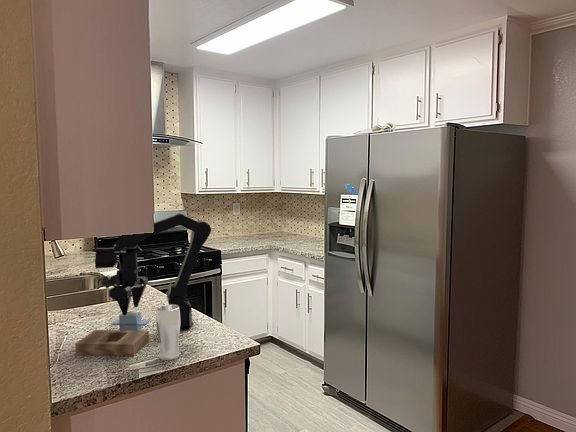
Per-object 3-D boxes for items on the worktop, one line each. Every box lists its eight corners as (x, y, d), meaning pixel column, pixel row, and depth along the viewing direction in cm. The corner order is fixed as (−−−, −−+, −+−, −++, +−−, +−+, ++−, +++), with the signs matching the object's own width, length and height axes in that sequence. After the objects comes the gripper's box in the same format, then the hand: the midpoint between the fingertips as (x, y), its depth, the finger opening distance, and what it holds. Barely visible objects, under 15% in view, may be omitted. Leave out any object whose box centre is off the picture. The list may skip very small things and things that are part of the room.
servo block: (116, 331, 153) (115, 309, 152) (150, 331, 152) (149, 309, 151) (111, 335, 149) (110, 313, 148) (145, 335, 148) (144, 313, 147)
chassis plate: (148, 341, 143) (148, 330, 143) (133, 355, 131) (133, 344, 131) (95, 340, 144) (95, 330, 144) (75, 354, 132) (75, 343, 132)
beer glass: (157, 362, 126) (155, 311, 125) (157, 353, 133) (156, 305, 132) (181, 359, 128) (180, 309, 127) (181, 350, 135) (179, 303, 133)
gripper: (117, 261, 158) (119, 303, 160) (91, 272, 140) (94, 319, 141) (147, 261, 158) (149, 303, 159) (125, 272, 139) (127, 319, 140)
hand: (130, 310), depth 150 cm, fingers open, 9 cm apart
